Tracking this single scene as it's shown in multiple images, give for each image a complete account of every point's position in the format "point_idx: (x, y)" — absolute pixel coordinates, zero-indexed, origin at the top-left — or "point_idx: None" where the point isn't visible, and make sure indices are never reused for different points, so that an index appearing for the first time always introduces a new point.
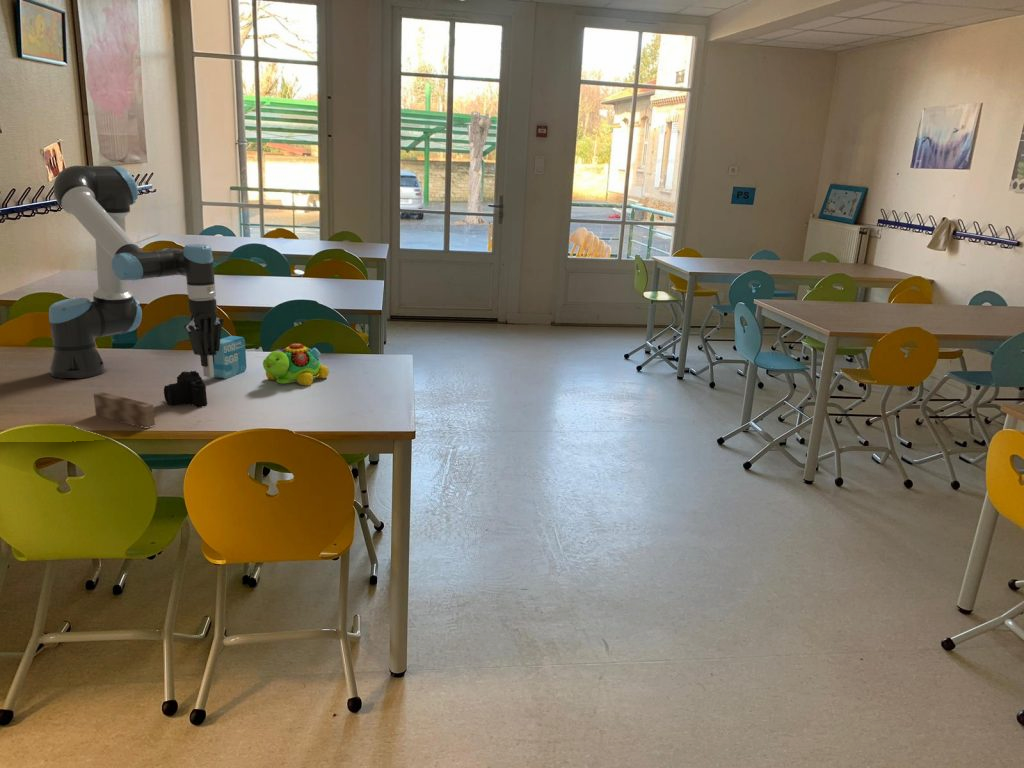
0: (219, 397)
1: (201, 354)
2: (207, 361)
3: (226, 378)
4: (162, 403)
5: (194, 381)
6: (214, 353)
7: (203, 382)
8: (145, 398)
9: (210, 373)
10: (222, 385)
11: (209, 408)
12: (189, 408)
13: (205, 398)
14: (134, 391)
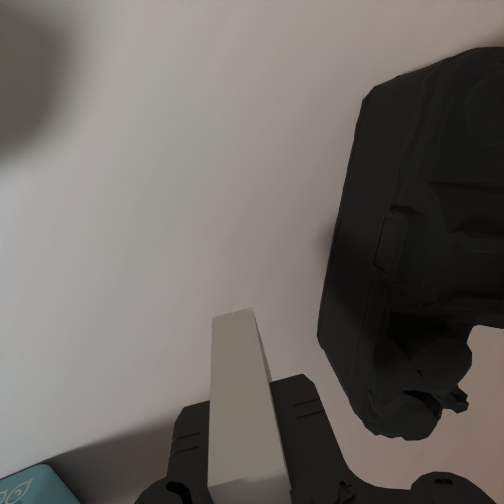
0: (232, 186)
1: (447, 486)
2: (278, 421)
3: (39, 465)
4: None
5: (489, 182)
6: (181, 497)
7: (467, 86)
8: (488, 396)
9: (249, 325)
10: (110, 377)
11: (394, 17)
12: None
13: (401, 77)
14: None
